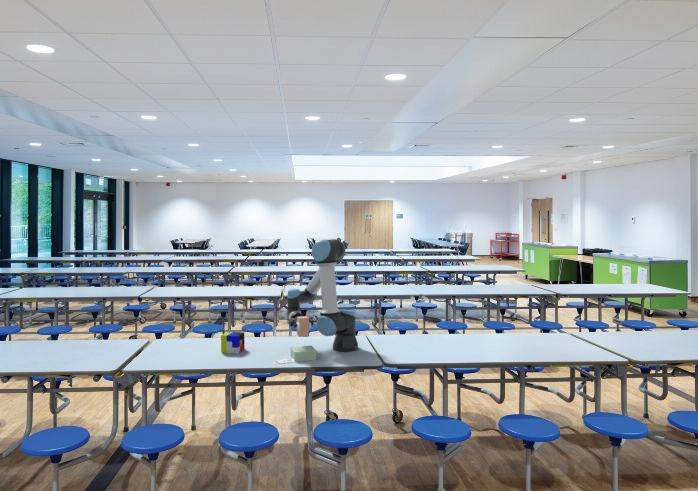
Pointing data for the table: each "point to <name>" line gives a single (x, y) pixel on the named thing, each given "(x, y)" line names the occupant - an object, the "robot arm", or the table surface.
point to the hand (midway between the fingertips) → (304, 326)
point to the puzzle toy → (232, 342)
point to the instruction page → (286, 361)
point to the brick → (303, 326)
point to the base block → (303, 353)
